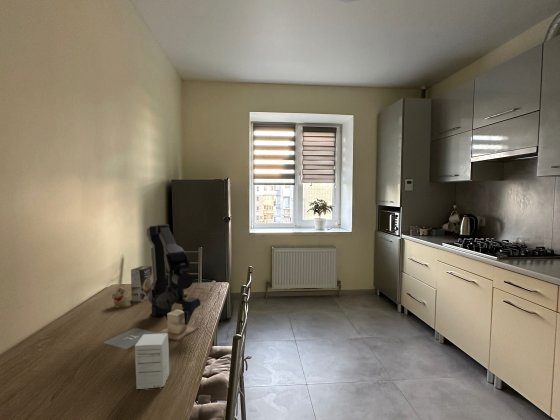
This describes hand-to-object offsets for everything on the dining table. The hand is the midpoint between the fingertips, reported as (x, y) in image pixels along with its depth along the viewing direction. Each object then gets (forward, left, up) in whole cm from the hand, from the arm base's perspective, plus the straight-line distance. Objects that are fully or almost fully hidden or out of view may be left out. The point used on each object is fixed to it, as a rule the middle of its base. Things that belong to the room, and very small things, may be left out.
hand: (177, 322), depth 124 cm
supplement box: (+28, +18, -4) cm, 33 cm away
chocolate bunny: (-11, -45, -4) cm, 47 cm away
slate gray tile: (+11, -12, -4) cm, 17 cm away
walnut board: (0, 0, -4) cm, 4 cm away
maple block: (0, 0, -3) cm, 3 cm away
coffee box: (-23, -45, -4) cm, 51 cm away
